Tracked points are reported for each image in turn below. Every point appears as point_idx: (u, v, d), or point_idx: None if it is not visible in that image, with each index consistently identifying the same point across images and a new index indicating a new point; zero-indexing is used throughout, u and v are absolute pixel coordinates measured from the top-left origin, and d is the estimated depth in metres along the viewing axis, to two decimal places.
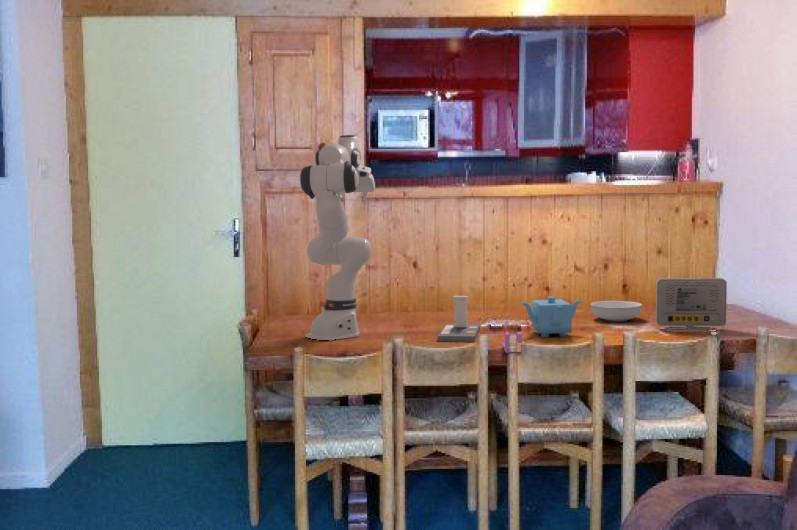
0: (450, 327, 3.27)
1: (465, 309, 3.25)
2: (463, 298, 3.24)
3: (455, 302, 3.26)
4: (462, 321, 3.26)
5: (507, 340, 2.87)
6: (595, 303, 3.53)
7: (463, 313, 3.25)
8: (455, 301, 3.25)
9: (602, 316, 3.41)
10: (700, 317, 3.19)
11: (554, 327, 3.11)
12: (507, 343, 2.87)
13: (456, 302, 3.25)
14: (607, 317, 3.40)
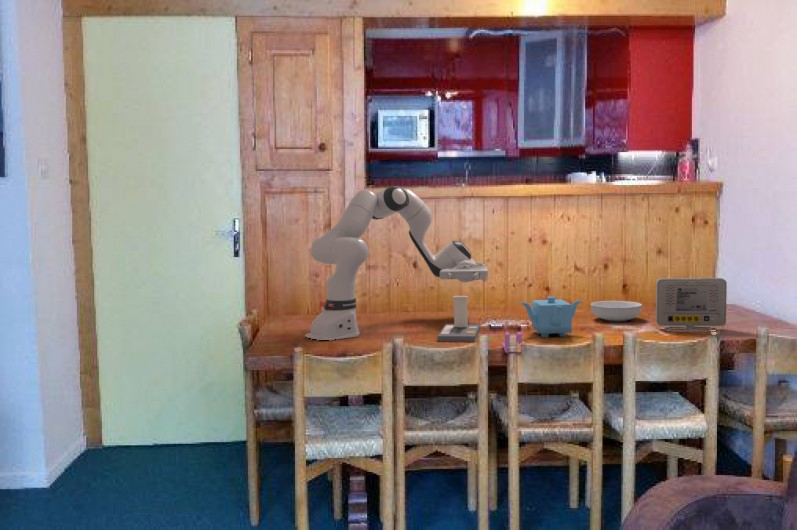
0: (450, 327, 3.27)
1: (465, 309, 3.25)
2: (463, 298, 3.24)
3: (455, 302, 3.26)
4: (462, 321, 3.26)
5: (507, 340, 2.87)
6: (595, 303, 3.53)
7: (463, 313, 3.25)
8: (455, 301, 3.25)
9: (602, 316, 3.41)
10: (700, 317, 3.19)
11: (554, 327, 3.11)
12: (507, 343, 2.87)
13: (456, 302, 3.25)
14: (607, 317, 3.40)
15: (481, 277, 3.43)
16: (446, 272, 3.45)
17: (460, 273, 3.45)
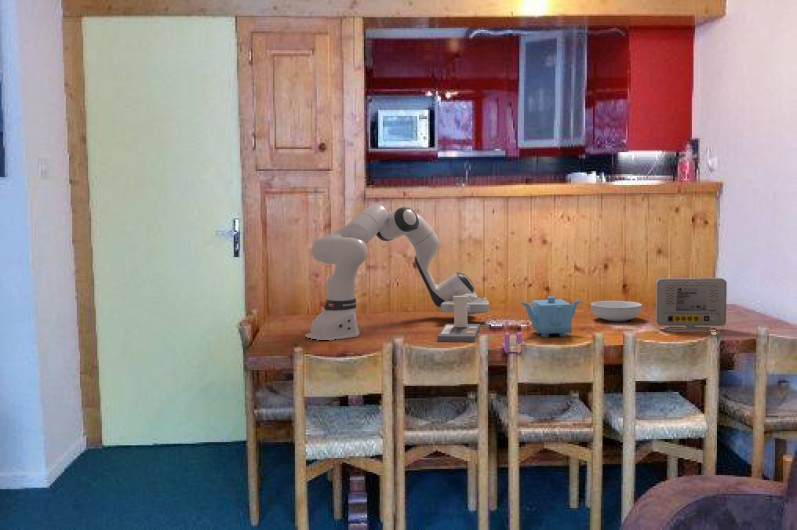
0: (450, 327, 3.27)
1: (465, 309, 3.25)
2: (463, 298, 3.24)
3: (455, 302, 3.26)
4: (462, 321, 3.26)
5: (507, 340, 2.87)
6: (595, 303, 3.53)
7: (463, 313, 3.25)
8: (455, 301, 3.25)
9: (602, 315, 3.41)
10: (700, 317, 3.19)
11: (554, 327, 3.11)
12: (507, 343, 2.87)
13: (456, 302, 3.25)
14: (607, 317, 3.40)
15: (482, 310, 3.42)
16: (447, 305, 3.44)
17: None
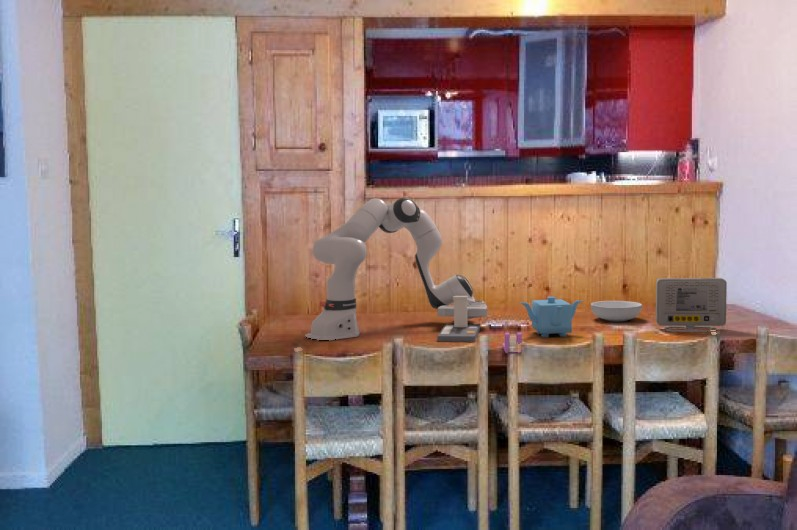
0: (450, 327, 3.27)
1: (465, 309, 3.25)
2: (463, 298, 3.24)
3: (455, 302, 3.25)
4: (462, 321, 3.26)
5: (507, 340, 2.87)
6: (595, 303, 3.53)
7: (463, 313, 3.25)
8: (455, 301, 3.25)
9: (602, 316, 3.41)
10: (700, 317, 3.19)
11: (554, 327, 3.11)
12: (507, 343, 2.87)
13: (456, 302, 3.25)
14: (607, 317, 3.40)
15: (480, 315, 3.31)
16: (444, 309, 3.33)
17: None
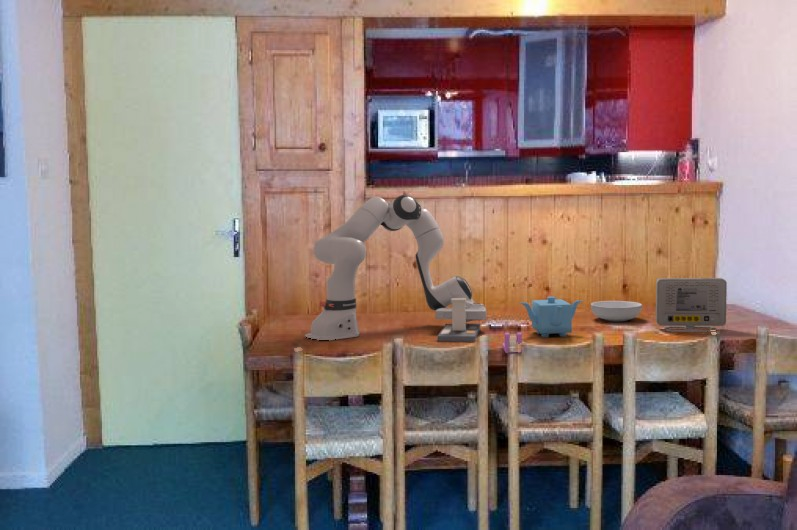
0: (450, 327, 3.27)
1: (463, 312, 3.18)
2: (461, 301, 3.18)
3: (453, 305, 3.19)
4: (461, 324, 3.19)
5: (507, 340, 2.87)
6: (595, 303, 3.53)
7: (462, 316, 3.19)
8: (453, 304, 3.19)
9: (602, 316, 3.41)
10: (700, 317, 3.19)
11: (554, 327, 3.11)
12: (507, 343, 2.87)
13: (454, 305, 3.19)
14: (607, 317, 3.40)
15: (479, 318, 3.24)
16: (442, 312, 3.27)
17: None
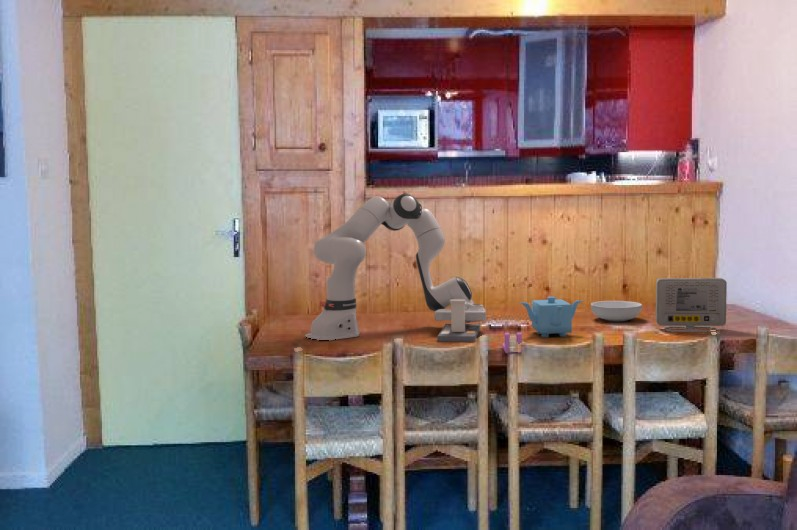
0: (450, 327, 3.27)
1: (463, 313, 3.16)
2: (460, 302, 3.15)
3: (452, 306, 3.16)
4: (460, 326, 3.16)
5: (507, 340, 2.87)
6: (595, 303, 3.53)
7: (461, 318, 3.16)
8: (452, 305, 3.16)
9: (602, 316, 3.41)
10: (700, 317, 3.19)
11: (554, 327, 3.11)
12: (507, 343, 2.87)
13: (453, 306, 3.16)
14: (607, 317, 3.40)
15: (478, 319, 3.21)
16: (441, 313, 3.24)
17: None
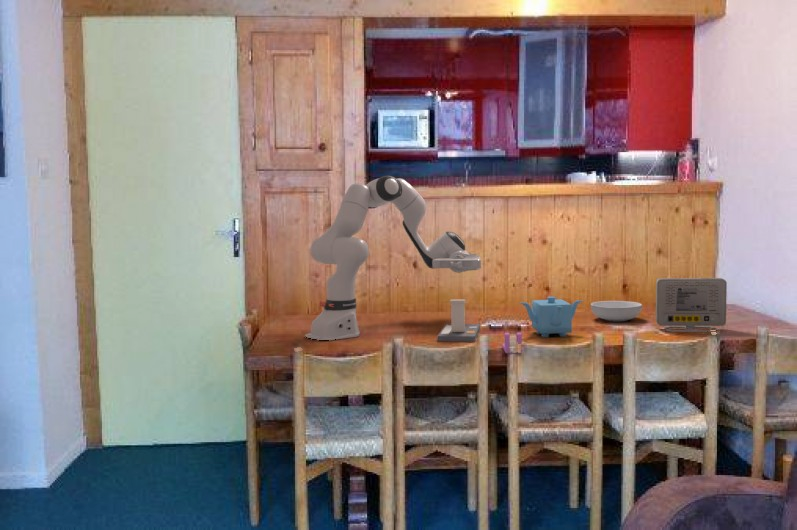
0: (450, 327, 3.27)
1: (463, 313, 3.16)
2: (460, 302, 3.15)
3: (452, 306, 3.16)
4: (460, 326, 3.16)
5: (507, 340, 2.87)
6: (595, 303, 3.53)
7: (461, 318, 3.16)
8: (452, 305, 3.16)
9: (602, 316, 3.41)
10: (700, 317, 3.19)
11: (554, 327, 3.11)
12: (507, 343, 2.87)
13: (453, 306, 3.16)
14: (607, 317, 3.40)
15: (474, 266, 3.39)
16: (439, 261, 3.41)
17: (453, 262, 3.41)
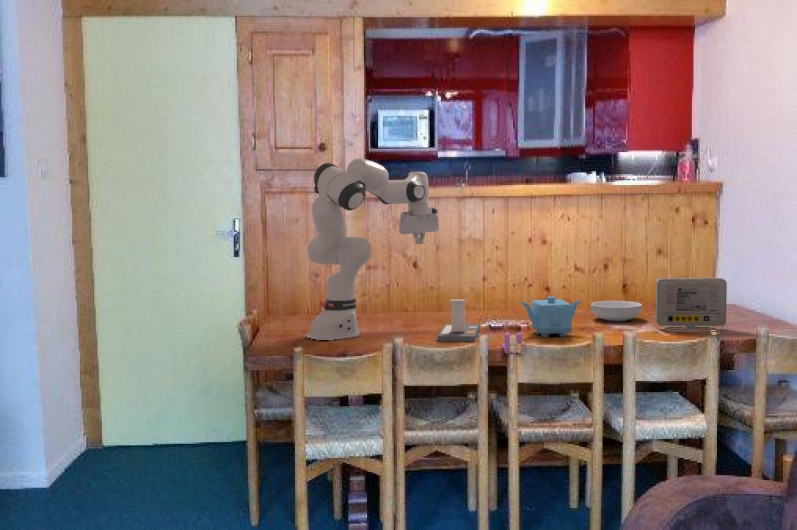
0: (450, 327, 3.27)
1: (463, 313, 3.16)
2: (460, 302, 3.15)
3: (452, 306, 3.16)
4: (460, 326, 3.16)
5: (507, 341, 2.86)
6: (595, 303, 3.53)
7: (461, 318, 3.16)
8: (452, 305, 3.16)
9: (602, 316, 3.41)
10: (700, 317, 3.19)
11: (554, 327, 3.11)
12: (507, 344, 2.87)
13: (453, 306, 3.16)
14: (607, 317, 3.40)
15: None
16: (409, 233, 3.38)
17: None
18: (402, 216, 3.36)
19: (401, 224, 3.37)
